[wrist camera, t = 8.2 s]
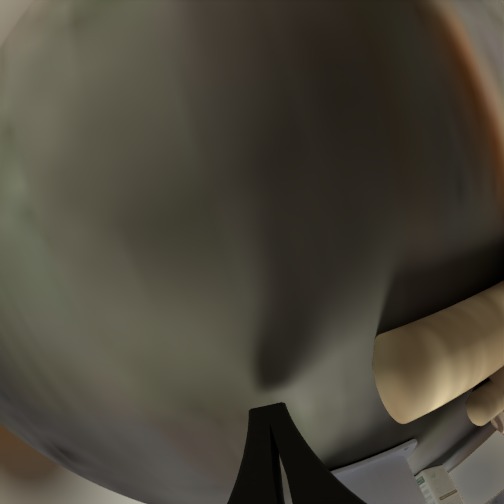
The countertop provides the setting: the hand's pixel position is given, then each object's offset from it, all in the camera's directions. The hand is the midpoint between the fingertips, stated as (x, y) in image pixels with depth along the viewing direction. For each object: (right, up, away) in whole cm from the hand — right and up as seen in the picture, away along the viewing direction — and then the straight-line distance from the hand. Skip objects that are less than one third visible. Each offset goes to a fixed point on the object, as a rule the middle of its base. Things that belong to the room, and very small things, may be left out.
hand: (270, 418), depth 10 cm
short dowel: (+20, -3, +5) cm, 21 cm away
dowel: (+10, +3, +2) cm, 11 cm away
